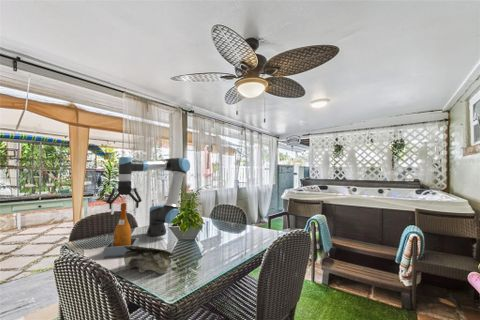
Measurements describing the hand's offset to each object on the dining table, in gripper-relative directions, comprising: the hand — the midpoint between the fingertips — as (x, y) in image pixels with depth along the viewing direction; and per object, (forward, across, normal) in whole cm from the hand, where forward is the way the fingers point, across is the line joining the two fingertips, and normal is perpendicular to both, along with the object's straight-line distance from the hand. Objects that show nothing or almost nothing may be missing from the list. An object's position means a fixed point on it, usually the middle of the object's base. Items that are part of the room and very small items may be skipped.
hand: (124, 213), depth 138 cm
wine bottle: (+23, 0, 0) cm, 23 cm away
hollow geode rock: (+24, -18, +29) cm, 42 cm away
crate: (+24, 0, 0) cm, 24 cm away
